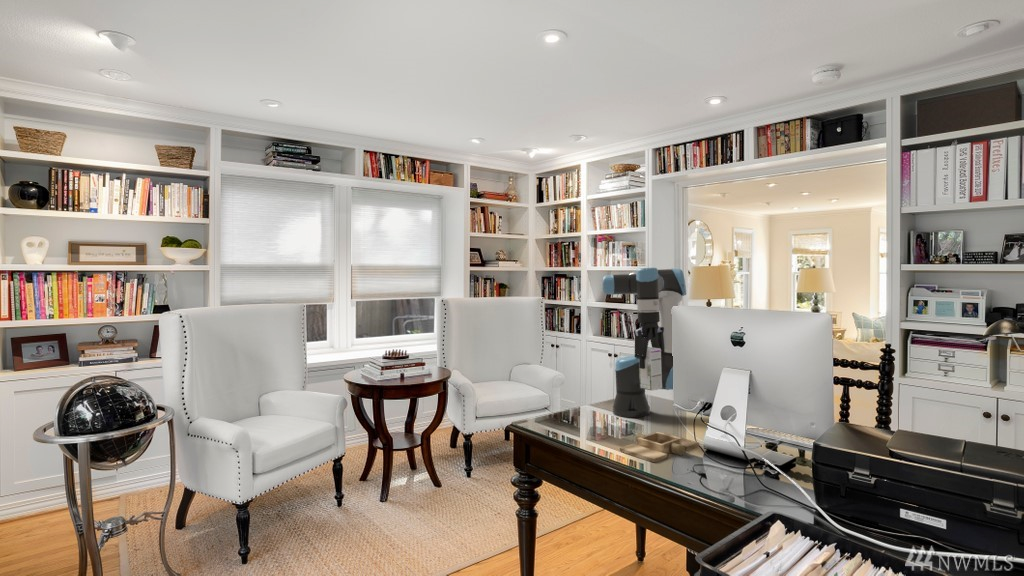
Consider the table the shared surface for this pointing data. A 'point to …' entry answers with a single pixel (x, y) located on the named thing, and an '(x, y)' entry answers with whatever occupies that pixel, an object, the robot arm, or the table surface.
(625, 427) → the table surface
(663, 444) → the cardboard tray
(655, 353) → the syrup box
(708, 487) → the table surface
